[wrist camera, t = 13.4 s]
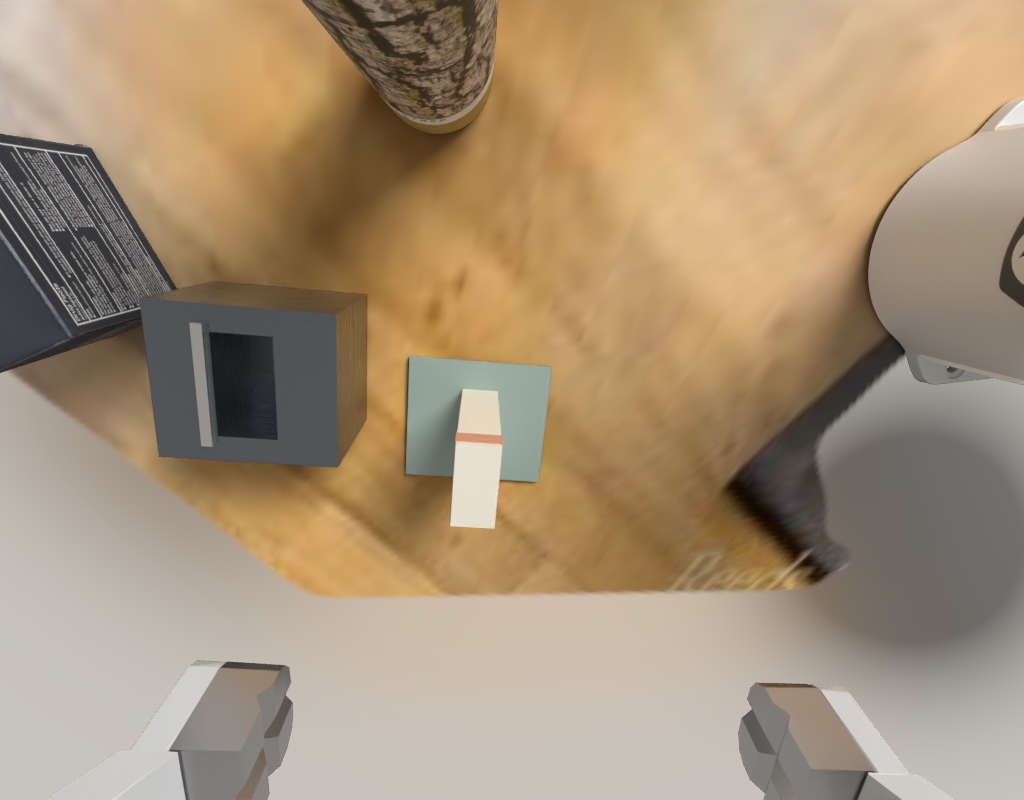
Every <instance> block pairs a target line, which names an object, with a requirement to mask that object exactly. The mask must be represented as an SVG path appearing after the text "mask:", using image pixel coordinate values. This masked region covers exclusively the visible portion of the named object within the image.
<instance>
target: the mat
mask: <svg viewBox="0 0 1024 800" xmlns="http://www.w3.org/2000/svg"><path fill="white" fill-rule="evenodd" d="M551 372H552V367H551V366H538V365H525V364H512V363H499V362H486V361H473V360H460V359H447V358H434V357H421V356H410V359H409V389H408V420H407V450H406V474H414V475H431V476H448V477H453V466H454V452H455V439H456V432H457V430H458V422H459V414H460V406H461V398H462V390H463V389H472V390H485V391H498V401H499V413H500V425H501V435H502V437H503V450H502V460H501V470H500V480H514V481H531V482H538V480H539V472H540V464H541V455H542V447H543V438H544V430H545V422H546V413H547V405H548V397H549V388H550V380H551Z"/></svg>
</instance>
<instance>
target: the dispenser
mask: <svg viewBox="0 0 1024 800" xmlns="http://www.w3.org/2000/svg"><path fill="white" fill-rule="evenodd" d="M139 301H140V309H141V317H142V325H143V333H144V341H145V349H146V357H147V365H148V373H149V381H150V388H151V396H152V404H153V412H154V420H155V428H156V436H157V444H158V452H159V457H173V458H190V459H206V460H223V461H239V462H256V463H272V464H289V465H306V466H322V467H338V466H339V465H340V463H341V461H342V460H343V458H344V456H345V455H346V453H347V451H348V450H349V448H350V446H351V445H352V443H353V441H354V439H355V438H356V436H357V434H358V433H359V431H360V429H361V428H362V426H363V424H364V423H365V421H366V407H367V294H355V293H343V292H332V291H320V290H308V289H296V288H285V287H273V286H261V285H249V284H238V283H226V282H214V281H213V282H209V283H204V284H200V285H195V286H191V287H186V288H182V289H177V290H173V291H168V292H164V293H159V294H155V295H150V296H146V297H141V298H139Z"/></svg>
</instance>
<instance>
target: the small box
mask: <svg viewBox="0 0 1024 800" xmlns="http://www.w3.org/2000/svg"><path fill="white" fill-rule="evenodd" d="M173 290H177V289H176V287H175V285H174V283H173V282H172V280H171V278H170V277H169V275H168V274H167V272H166V270H165V269H164V267H163V265H162V264H161V262H160V260H159V259H158V257H157V255H156V254H155V252H154V251H153V249H152V247H151V245H150V244H149V242H148V240H147V239H146V237H145V236H144V234H143V232H142V231H141V229H140V228H139V226H138V224H137V222H136V221H135V219H134V217H133V216H132V214H131V213H130V211H129V209H128V207H127V206H126V204H125V203H124V201H123V199H122V198H121V196H120V194H119V193H118V191H117V190H116V188H115V186H114V184H113V183H112V181H111V180H110V178H109V176H108V175H107V173H106V171H105V170H104V168H103V167H102V165H101V163H100V162H99V160H98V159H97V157H96V155H95V154H94V152H93V150H92V149H91V148H90V147H87V146H84V145H80V144H78V145H76V144H75V145H69V144H63V143H56V142H49V141H44V140H38V139H32V138H26V137H19V136H11V135H5V134H0V373H1V372H4V371H7V370H10V369H13V368H16V367H19V366H23V365H26V364H29V363H32V362H35V361H38V360H41V359H45V358H47V357H51V356H54V355H56V354H60V353H63V352H66V351H69V350H72V349H75V348H78V347H81V346H84V345H87V344H90V343H93V342H96V341H99V340H102V339H106V338H110V337H113V336H115V335H117V334H120V333H122V332H124V331H127V330H130V329H132V328H134V327H136V326H139V325H141V324H142V317H141V309H140V301H139V298H141V297H146V296H150V295H155V294H159V293H164V292H168V291H173Z"/></svg>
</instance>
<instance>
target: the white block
mask: <svg viewBox="0 0 1024 800" xmlns="http://www.w3.org/2000/svg"><path fill="white" fill-rule="evenodd" d="M502 450H503V437H502V435H501V425H500V413H499V401H498V391H485V390H472V389H463V390H462V398H461V406H460V414H459V422H458V430H457V432H456V439H455V452H454V466H453V481H452V496H451V511H450V526H458V527H476V528H494V527H495V521H496V511H497V501H498V491H499V480H500V470H501V460H502Z"/></svg>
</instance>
